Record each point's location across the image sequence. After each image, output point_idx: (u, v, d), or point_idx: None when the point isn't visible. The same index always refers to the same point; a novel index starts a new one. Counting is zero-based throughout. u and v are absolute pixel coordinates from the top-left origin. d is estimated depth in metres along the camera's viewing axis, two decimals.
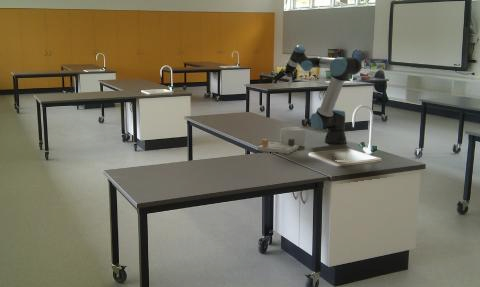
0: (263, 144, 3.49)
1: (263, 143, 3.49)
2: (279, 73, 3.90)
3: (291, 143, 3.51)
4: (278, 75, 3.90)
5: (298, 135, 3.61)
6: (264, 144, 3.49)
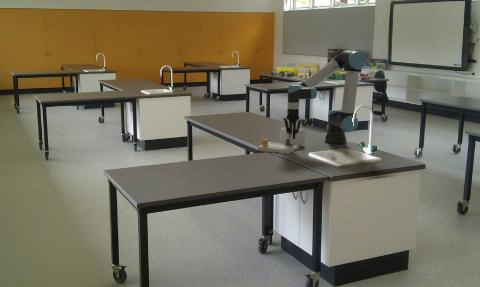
0: (263, 144, 3.49)
1: (263, 143, 3.49)
2: (299, 125, 3.48)
3: (289, 143, 3.52)
4: (299, 127, 3.49)
5: (298, 135, 3.61)
6: (264, 144, 3.49)
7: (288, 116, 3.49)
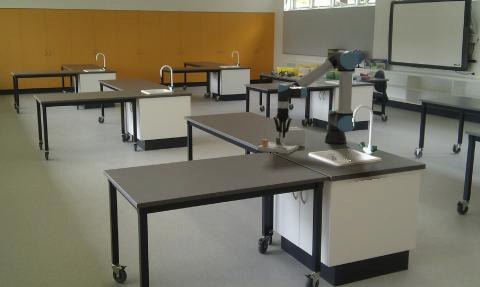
0: (263, 144, 3.49)
1: (263, 143, 3.49)
2: (289, 124, 3.51)
3: (279, 141, 3.56)
4: None
5: (298, 135, 3.61)
6: (264, 144, 3.49)
7: (278, 115, 3.52)
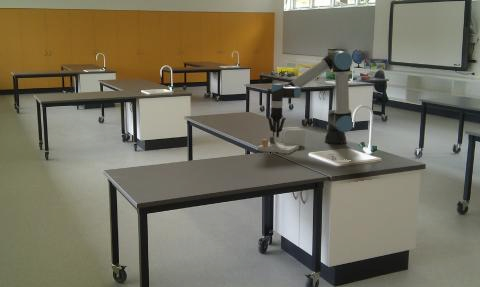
0: (263, 144, 3.49)
1: (263, 143, 3.49)
2: (282, 123, 3.53)
3: (272, 141, 3.58)
4: (282, 125, 3.54)
5: (298, 135, 3.61)
6: (264, 144, 3.49)
7: (272, 114, 3.55)
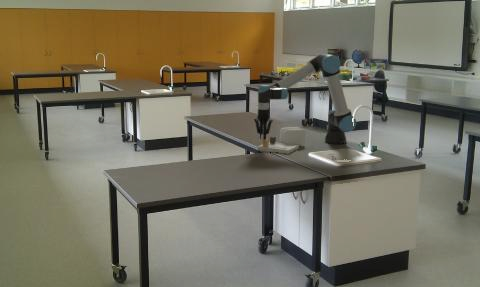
0: (264, 144, 3.49)
1: (264, 143, 3.49)
2: (269, 126, 3.46)
3: (272, 141, 3.58)
4: (269, 128, 3.47)
5: (298, 135, 3.61)
6: (265, 144, 3.49)
7: (259, 116, 3.47)
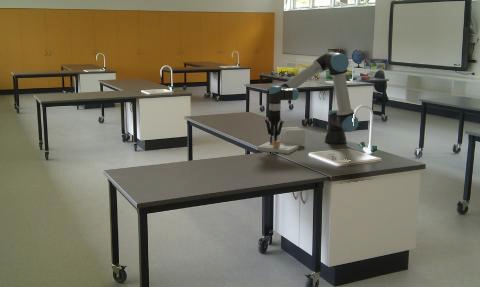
0: (275, 145, 3.45)
1: (275, 144, 3.45)
2: (281, 127, 3.42)
3: None
4: (280, 129, 3.43)
5: (298, 135, 3.61)
6: (276, 145, 3.45)
7: (269, 118, 3.44)
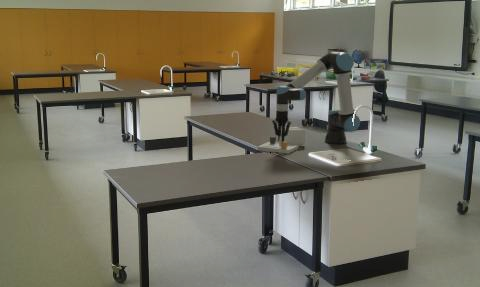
0: (282, 146, 3.43)
1: (282, 145, 3.43)
2: (288, 127, 3.40)
3: (272, 141, 3.58)
4: (288, 129, 3.41)
5: (298, 135, 3.61)
6: (283, 146, 3.42)
7: (277, 118, 3.41)
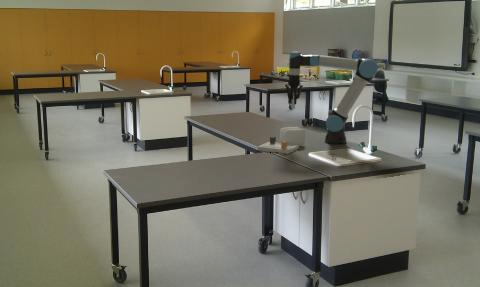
0: (282, 146, 3.43)
1: (282, 145, 3.43)
2: (300, 91, 3.62)
3: (272, 141, 3.58)
4: None
5: (298, 135, 3.61)
6: (283, 146, 3.42)
7: (289, 82, 3.64)
